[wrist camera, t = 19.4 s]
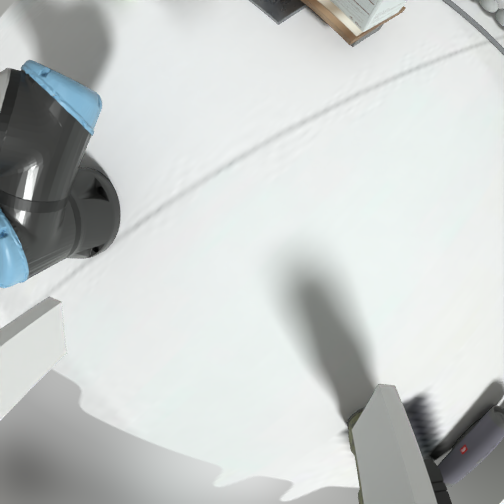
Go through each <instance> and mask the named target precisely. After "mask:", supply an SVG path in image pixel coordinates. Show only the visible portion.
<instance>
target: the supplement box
mask: <svg viewBox="0 0 504 504" xmlns="http://www.w3.org/2000/svg"><path fill="white" fill-rule="evenodd" d="M330 1H331V2H332V3H333V4H335V5H336V6H337V7H338V8H339V9H340V10H341V11H342V12H343V13H344V14H345V15H346V16H347V17H348V18H349V19H350V20H351V21H352V22H353V23H354V24H355V25H356V26H357V27H358V28H359V29H360V30H361V31H363V32H365V31H367V30H368V29H370V28H372V27H374V26H375V25H377V24H379V23H381V22H382V21H384V20H386V19H387V18H389V17H391V16H393V15H395V14H396V13H398V12H399V11H400V9H401V8H402V7H403V6H404V4H405V3H406V2H407V0H330Z"/></svg>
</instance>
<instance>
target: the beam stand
mask: <svg viewBox="0 0 504 504" xmlns="http://www.w3.org/2000/svg"><path fill="white" fill-rule="evenodd" d="M249 1H250V2H252V3H253V4H254V5H255V6H257V7H258V8H259V9H260V10H262V11H263V12H264V13H265V14H266V15H268V16H269V17H270V18H271V19H272V20H273V21H275V22H276V23H277V24H278V25H279V24H281V23H282V22H284V21H285V20H287V19H288V18H290V17H291V16H293V15H294V14H296V13H297V12H299V11H300V10H302V9H303V8H305V7H307V5H306V4H305V3H303V2H302V1H301V0H249ZM382 25H383V24H382ZM382 25H380V26H379V27H377V28H376V29H374V30H372V31H371V32H369V33H368V34H366V35H365V36H363V37H362V38H360V39H359V40H357V41H355V42H354V43H352V44H351V46H352V47H354V46H355V45H357V44H358V43H360V42H361V41H363V40H364V39H366V38H367V37H369V36H370V35H372V34H373V33H375V32H376V31H378V30H379V29H380V28H381V27H382Z"/></svg>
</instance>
